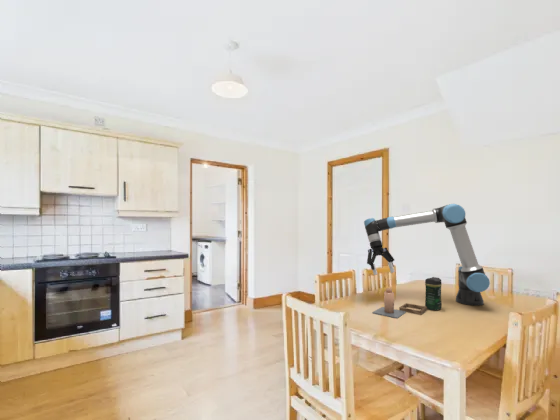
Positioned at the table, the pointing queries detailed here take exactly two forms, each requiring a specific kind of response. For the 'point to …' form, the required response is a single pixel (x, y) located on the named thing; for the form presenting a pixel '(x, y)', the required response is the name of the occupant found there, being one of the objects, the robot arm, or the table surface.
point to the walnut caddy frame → (404, 308)
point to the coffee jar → (433, 293)
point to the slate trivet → (394, 315)
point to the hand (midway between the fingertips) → (384, 273)
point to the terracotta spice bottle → (389, 301)
